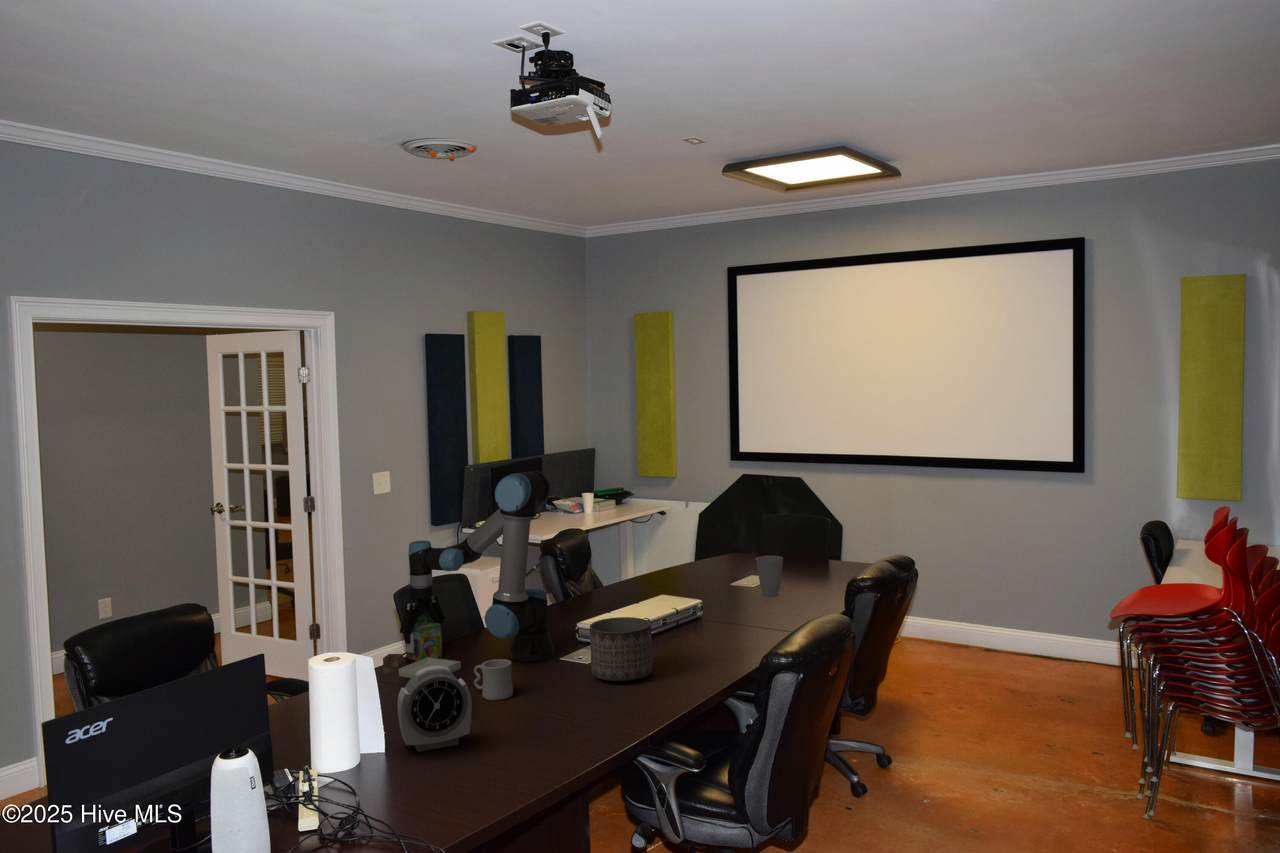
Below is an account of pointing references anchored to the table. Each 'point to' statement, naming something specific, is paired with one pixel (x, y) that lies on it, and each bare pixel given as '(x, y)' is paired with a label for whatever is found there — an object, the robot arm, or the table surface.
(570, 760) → the table surface
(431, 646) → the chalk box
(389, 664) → the walnut block
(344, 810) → the table surface
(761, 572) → the cup
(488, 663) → the mug
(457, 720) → the alarm clock
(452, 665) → the tray
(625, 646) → the planter
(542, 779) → the table surface
